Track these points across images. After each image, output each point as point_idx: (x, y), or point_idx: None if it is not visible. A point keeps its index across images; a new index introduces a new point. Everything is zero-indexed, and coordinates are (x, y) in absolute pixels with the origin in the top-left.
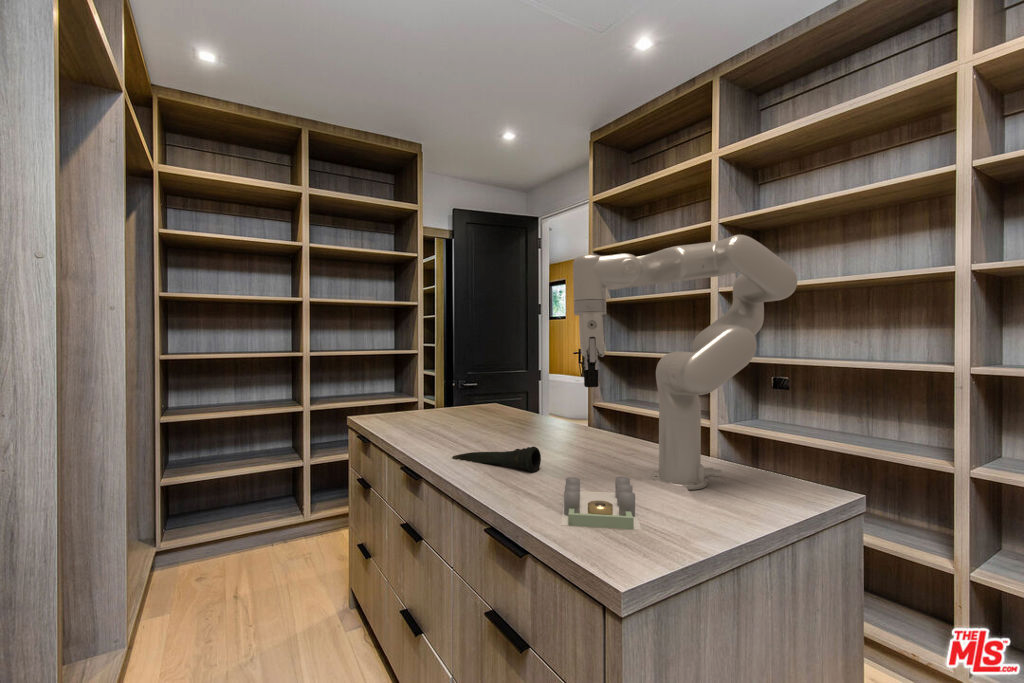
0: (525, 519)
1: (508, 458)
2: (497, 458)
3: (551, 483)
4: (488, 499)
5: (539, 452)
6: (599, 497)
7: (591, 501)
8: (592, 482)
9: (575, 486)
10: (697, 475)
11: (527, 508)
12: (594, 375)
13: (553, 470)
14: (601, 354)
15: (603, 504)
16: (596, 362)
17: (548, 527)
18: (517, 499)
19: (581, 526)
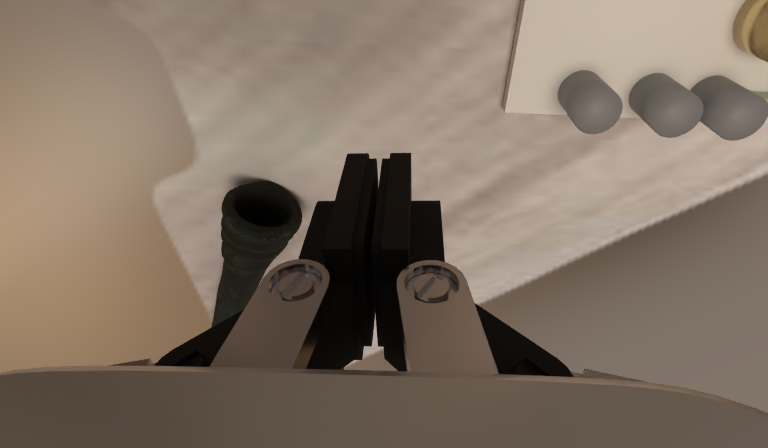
0: (667, 194)
1: (265, 270)
2: (254, 291)
3: (387, 143)
4: (523, 270)
5: (232, 206)
6: (583, 5)
7: (761, 52)
8: (358, 13)
9: (679, 106)
10: None
11: (594, 194)
12: (442, 247)
13: (250, 139)
14: (249, 390)
15: None
16: (489, 351)
17: (733, 146)
18: (526, 217)
19: None
